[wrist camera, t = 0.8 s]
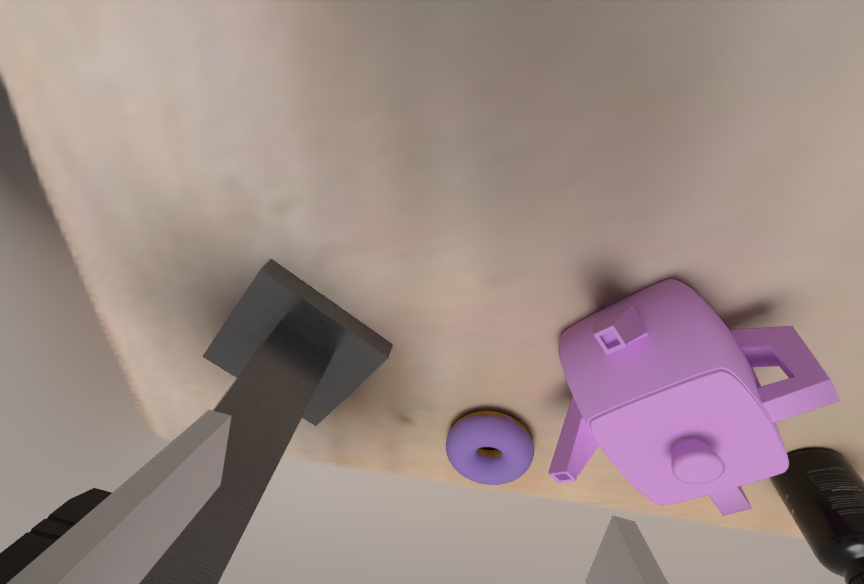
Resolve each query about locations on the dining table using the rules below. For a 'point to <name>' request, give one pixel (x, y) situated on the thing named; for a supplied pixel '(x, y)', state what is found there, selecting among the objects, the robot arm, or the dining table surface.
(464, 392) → the dining table surface
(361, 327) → the pedestal
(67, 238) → the dining table surface
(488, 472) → the donut
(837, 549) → the supplement bottle
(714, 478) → the teakettle
